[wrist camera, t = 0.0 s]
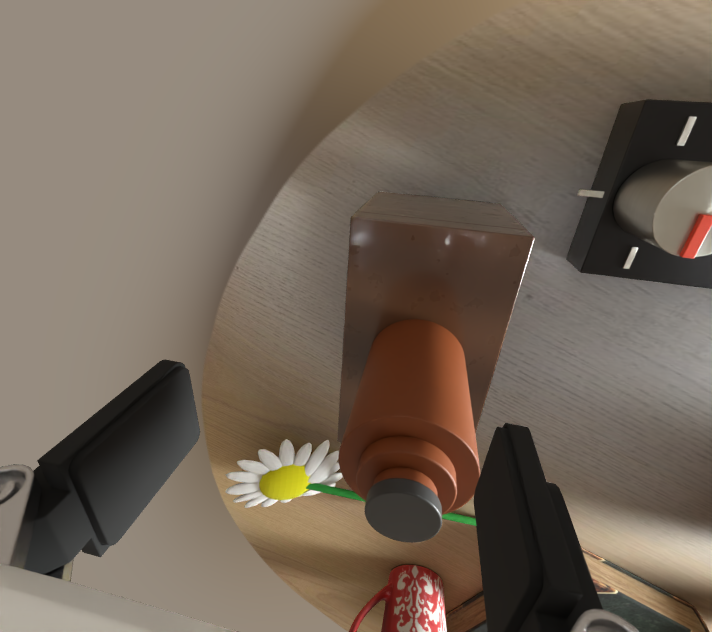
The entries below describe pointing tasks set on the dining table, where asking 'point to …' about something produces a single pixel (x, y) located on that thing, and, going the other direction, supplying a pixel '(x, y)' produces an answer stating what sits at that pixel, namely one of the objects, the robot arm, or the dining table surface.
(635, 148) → the stove
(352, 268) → the shelf
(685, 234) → the stove knob
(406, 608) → the mug
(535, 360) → the dining table surface
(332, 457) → the decorative flower
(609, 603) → the book
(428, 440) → the bottle
